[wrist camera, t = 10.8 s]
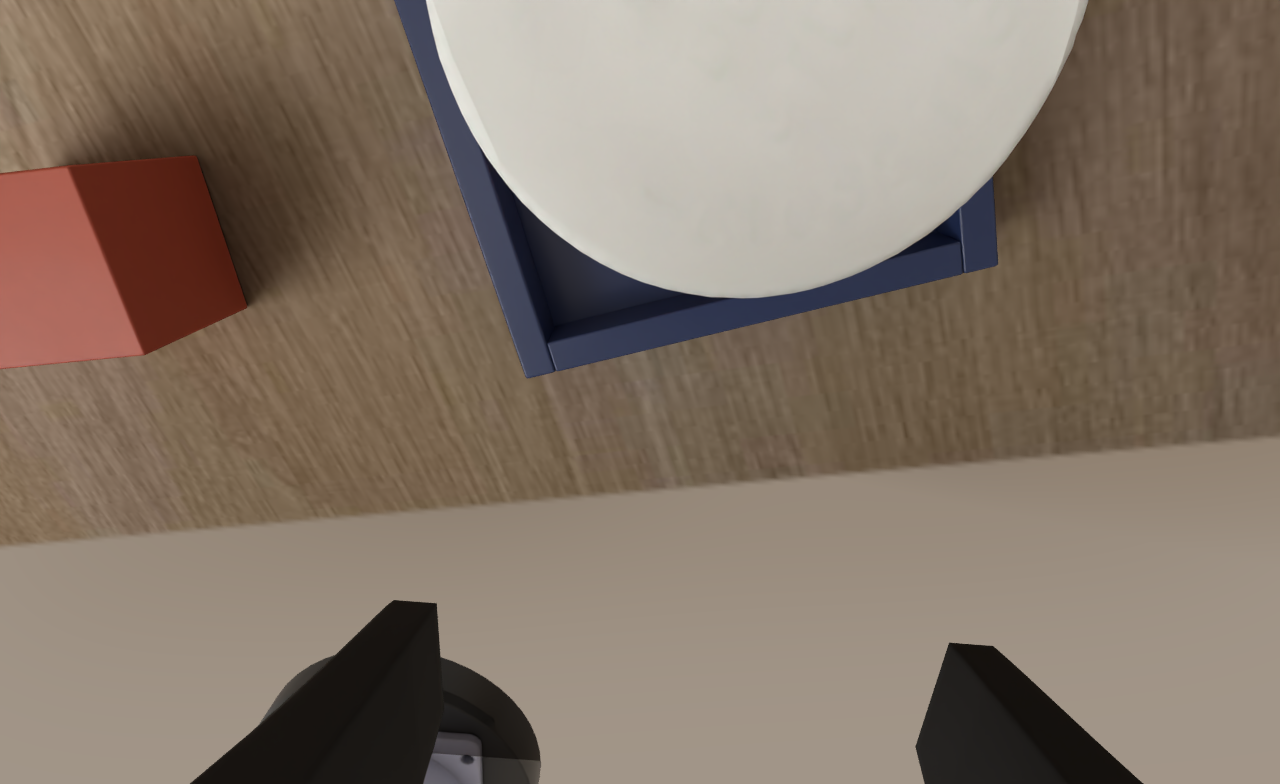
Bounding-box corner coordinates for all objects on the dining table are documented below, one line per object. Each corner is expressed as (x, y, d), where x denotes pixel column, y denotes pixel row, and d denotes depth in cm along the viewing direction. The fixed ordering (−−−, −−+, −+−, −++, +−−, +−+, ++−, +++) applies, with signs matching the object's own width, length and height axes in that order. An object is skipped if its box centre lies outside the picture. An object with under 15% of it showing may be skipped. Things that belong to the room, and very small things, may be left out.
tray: (539, 353, 19) (525, 379, 17) (374, -137, 14) (332, -174, 13) (963, 250, 17) (999, 265, 15) (916, -325, 13) (959, -399, 11)
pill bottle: (877, 98, 16) (1329, 61, 5) (663, 256, 17) (671, 479, 7) (728, -164, 14) (953, -1054, 3) (504, 39, 15) (170, -128, 5)
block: (248, 307, 18) (145, 355, 15) (112, 321, 19) (-24, 371, 15) (197, 155, 17) (67, 165, 13) (49, 171, 17) (-118, 187, 13)
